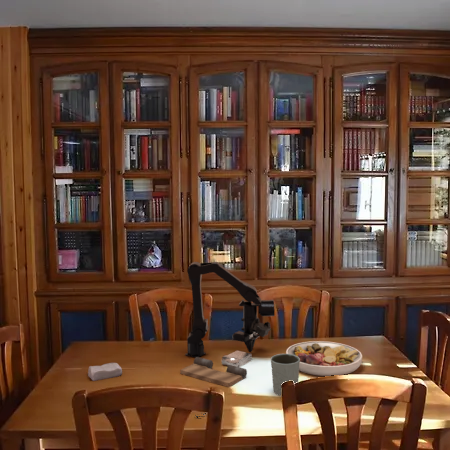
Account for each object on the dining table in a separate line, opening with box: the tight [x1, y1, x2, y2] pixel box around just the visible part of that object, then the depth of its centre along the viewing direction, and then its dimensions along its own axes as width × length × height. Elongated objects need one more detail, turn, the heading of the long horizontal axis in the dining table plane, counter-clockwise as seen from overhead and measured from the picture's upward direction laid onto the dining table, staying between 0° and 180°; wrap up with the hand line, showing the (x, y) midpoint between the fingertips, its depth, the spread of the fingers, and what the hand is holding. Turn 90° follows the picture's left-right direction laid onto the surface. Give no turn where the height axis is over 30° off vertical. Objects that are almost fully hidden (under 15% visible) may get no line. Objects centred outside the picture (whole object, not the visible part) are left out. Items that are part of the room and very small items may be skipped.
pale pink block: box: [221, 350, 253, 368], centre depth 207 cm, size 7×11×4 cm, turn 145°
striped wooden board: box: [179, 357, 248, 388], centre depth 194 cm, size 23×12×4 cm, turn 55°
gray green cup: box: [270, 353, 300, 396], centre depth 178 cm, size 10×10×12 cm
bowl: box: [285, 340, 363, 377], centre depth 204 cm, size 30×30×8 cm
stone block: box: [87, 362, 123, 382], centre depth 196 cm, size 12×5×10 cm
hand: (250, 351), depth 216 cm, fingers closed
